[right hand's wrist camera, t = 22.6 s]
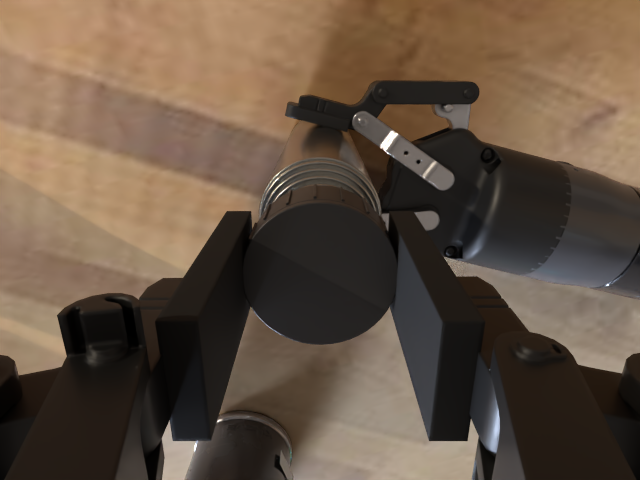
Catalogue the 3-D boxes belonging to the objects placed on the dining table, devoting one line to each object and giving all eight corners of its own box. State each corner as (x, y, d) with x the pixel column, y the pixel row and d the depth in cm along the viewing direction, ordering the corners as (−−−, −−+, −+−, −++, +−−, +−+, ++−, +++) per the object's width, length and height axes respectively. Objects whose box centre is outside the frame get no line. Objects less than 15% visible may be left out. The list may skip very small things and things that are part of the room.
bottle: (361, 127, 33) (429, 221, 13) (338, 187, 35) (363, 354, 14) (300, 103, 33) (268, 162, 12) (279, 165, 34) (219, 308, 14)
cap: (419, 237, 14) (433, 262, 12) (333, 336, 15) (335, 371, 14) (304, 153, 13) (302, 166, 11) (223, 266, 15) (209, 293, 13)
